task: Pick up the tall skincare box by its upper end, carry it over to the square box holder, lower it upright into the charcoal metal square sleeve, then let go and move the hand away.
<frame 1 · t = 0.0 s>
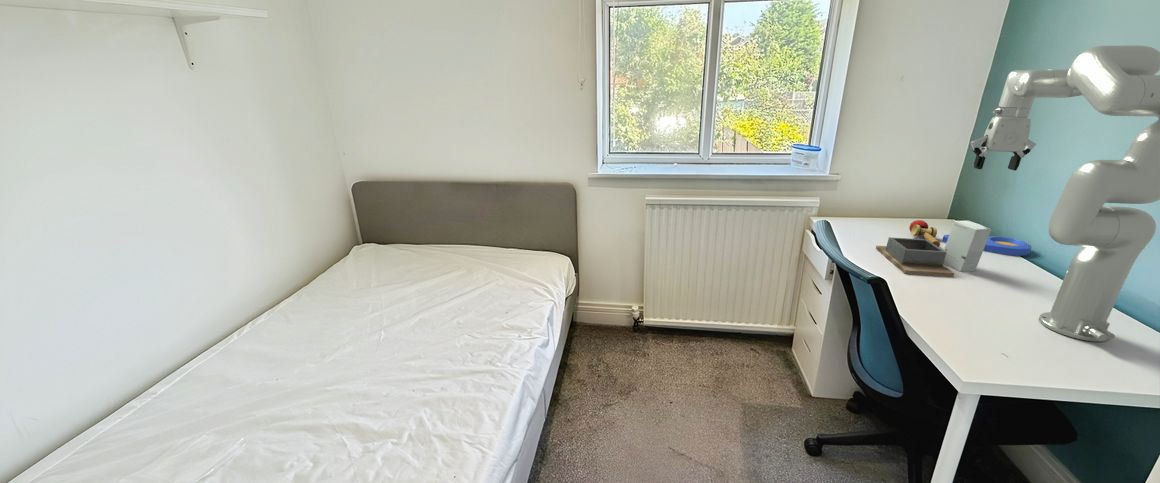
hand: (994, 169, 148), 31 cm above the table, tool pointing down, fingers open, 9 cm apart
location marker: (983, 248, 171), on the table
square box holder: (911, 261, 157), on the table
skincare box: (957, 267, 153), on the table
kendama: (923, 240, 177), on the table
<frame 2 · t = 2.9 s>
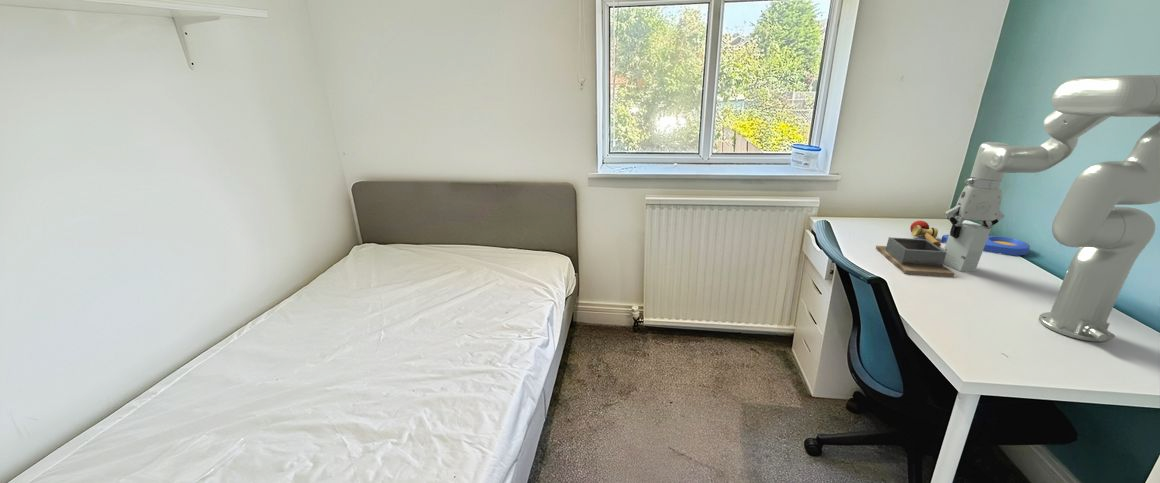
hand: (967, 237, 150), 10 cm above the table, tool pointing down, fingers closed on skincare box, 7 cm apart
skincare box: (957, 267, 153), on the table, touching gripper
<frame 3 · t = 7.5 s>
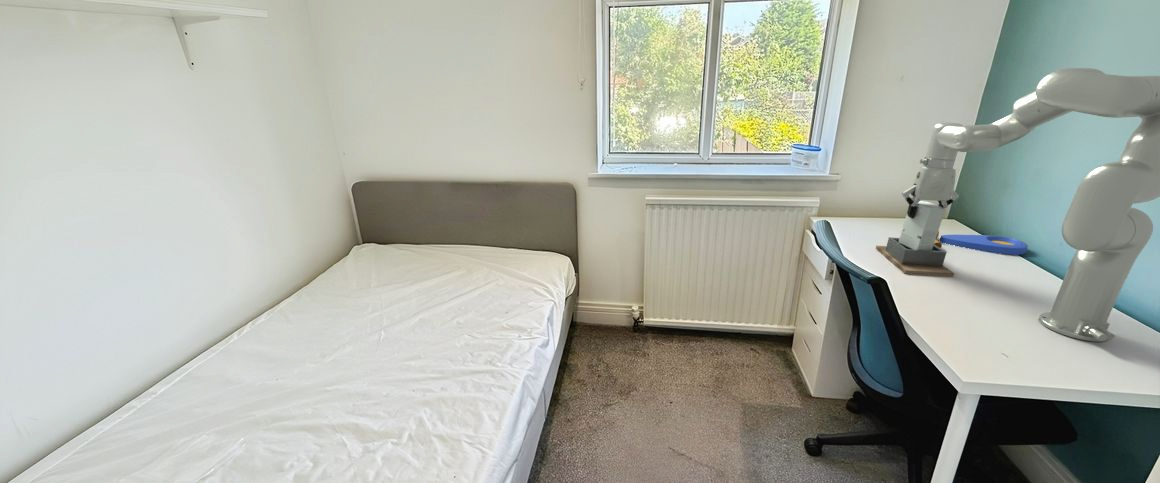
hand: (923, 217, 152), 16 cm above the table, tool pointing down, fingers closed on skincare box, 7 cm apart
skincare box: (915, 247, 155), point 5 cm above the table, touching gripper
when the fingers open (13 cm above the table, at t = 8.7 s): skincare box drops 1 cm, resting on square box holder.
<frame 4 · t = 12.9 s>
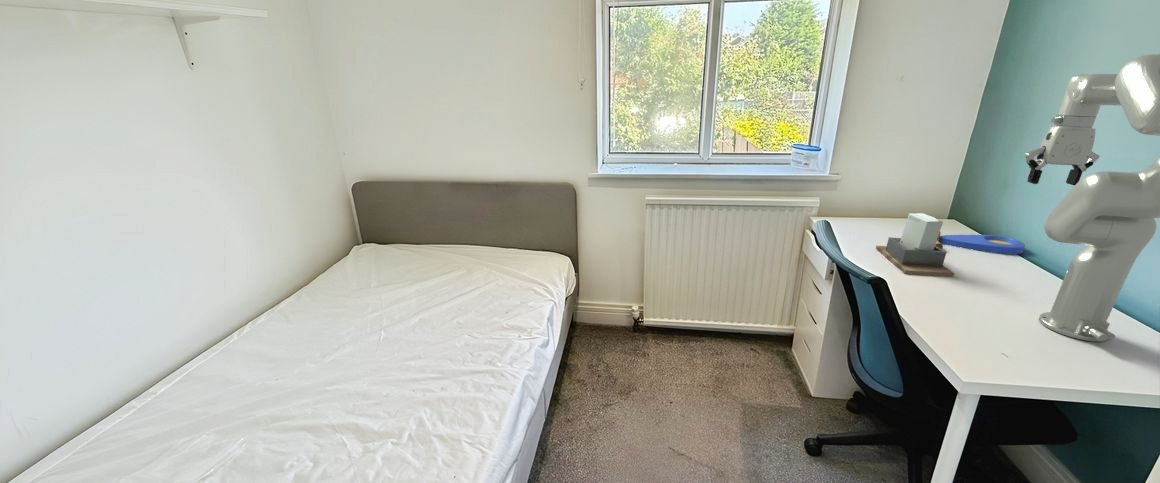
hand: (1051, 183, 133), 30 cm above the table, tool pointing down, fingers open, 9 cm apart
skincare box: (913, 259, 156), point 1 cm above the table, touching square box holder
at the end: skincare box 0.2 cm off-centre on the square box holder, point 1.0 cm above the square box holder's base; skincare box tilted 0°; the gripper is holding nothing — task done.
